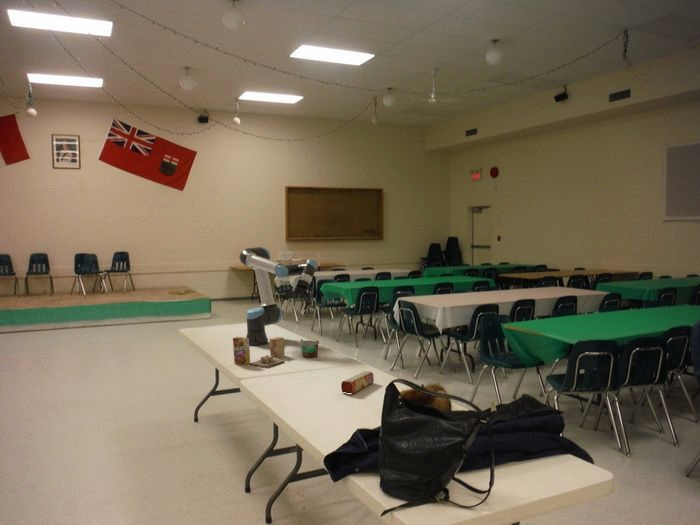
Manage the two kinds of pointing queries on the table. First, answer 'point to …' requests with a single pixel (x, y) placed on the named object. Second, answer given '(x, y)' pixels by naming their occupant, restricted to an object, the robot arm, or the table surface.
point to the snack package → (357, 382)
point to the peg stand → (267, 362)
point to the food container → (309, 348)
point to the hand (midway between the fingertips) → (292, 311)
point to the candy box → (241, 350)
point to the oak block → (277, 347)
